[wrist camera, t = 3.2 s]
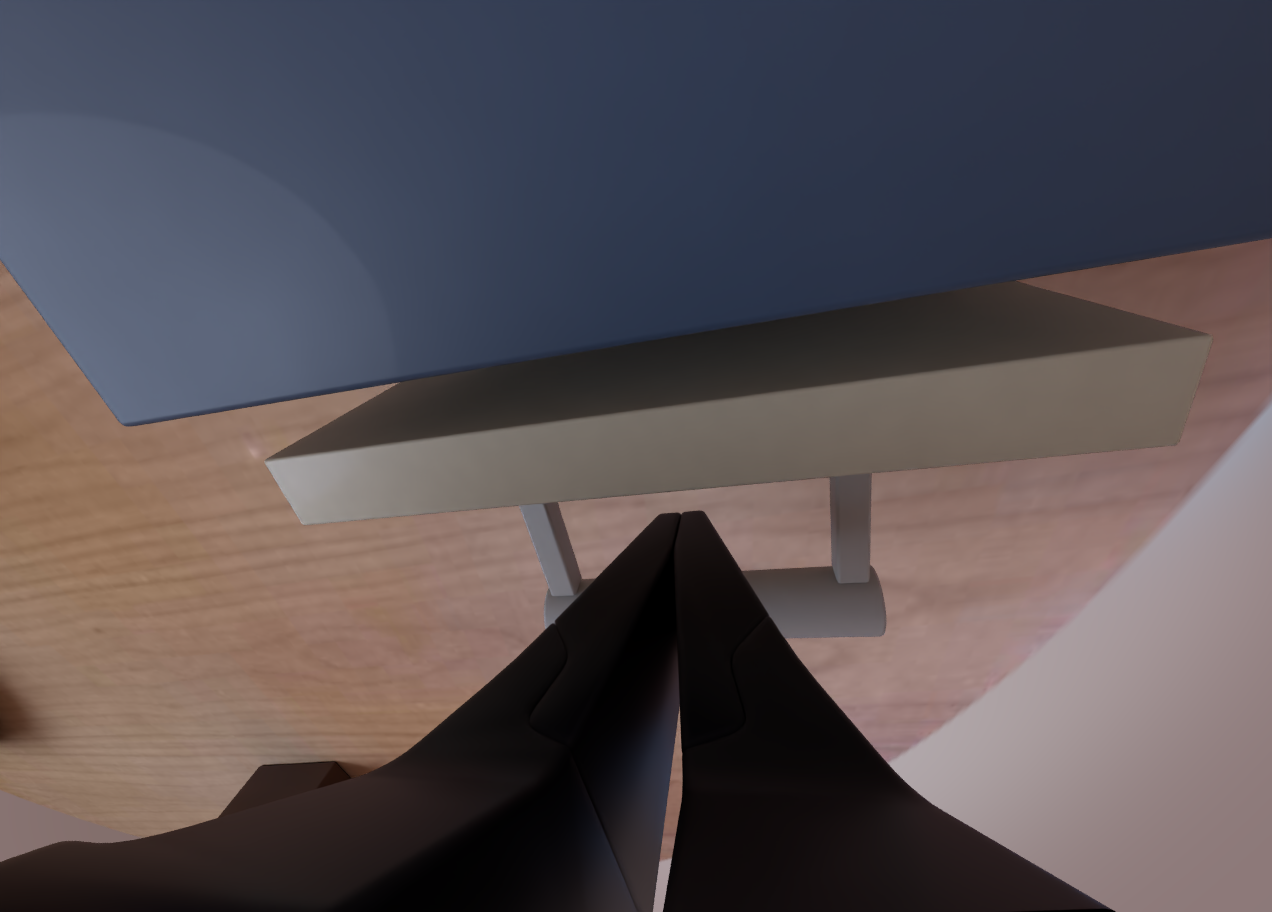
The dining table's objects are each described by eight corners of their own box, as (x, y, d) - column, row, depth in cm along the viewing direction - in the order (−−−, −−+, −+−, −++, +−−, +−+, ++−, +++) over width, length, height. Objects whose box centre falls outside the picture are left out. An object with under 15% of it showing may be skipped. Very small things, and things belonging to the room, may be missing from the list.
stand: (335, 761, 27) (153, 1027, 18) (391, 820, 30) (253, 1079, 21) (259, 765, 29) (59, 1011, 20) (318, 820, 31) (162, 1061, 22)
